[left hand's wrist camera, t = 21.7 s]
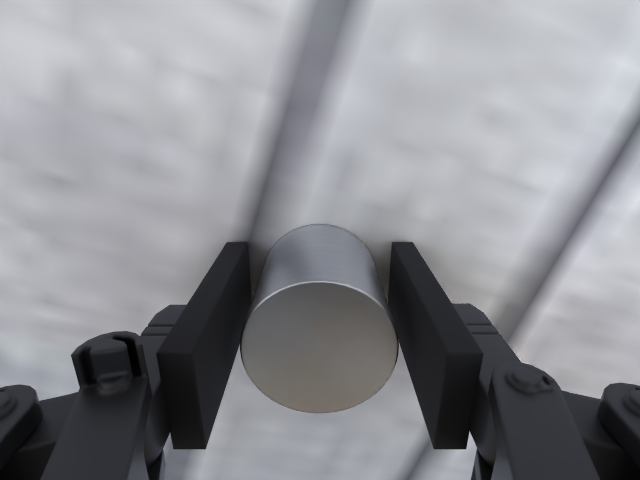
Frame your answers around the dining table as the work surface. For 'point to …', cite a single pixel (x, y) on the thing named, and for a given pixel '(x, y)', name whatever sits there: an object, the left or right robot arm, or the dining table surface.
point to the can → (319, 323)
